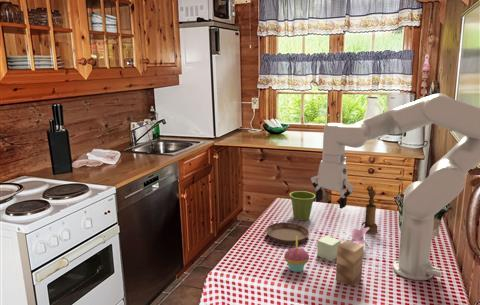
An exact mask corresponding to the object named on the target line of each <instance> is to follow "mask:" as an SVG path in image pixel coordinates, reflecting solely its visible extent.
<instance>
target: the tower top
mask: <svg viewBox="0 0 480 305" xmlns="http://www.w3.org/2000/svg"><path fill="white" fill-rule="evenodd" d="M364 247H365V246H364V244H363V245H360V244H358V243H354V242H351V240H347V239H346V240H345V241H343V242H342V243H340V245H338V247H337V257H336V264H337V263H338V264H341V265H343V266H346V267H349V268H351V269H354V268H356V267H357V266H359V265H360V264H361V263H362V264H363V263H364V262H363V260H364V249H365V248H364Z"/></svg>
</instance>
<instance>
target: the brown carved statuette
mask: <svg viewBox="0 0 480 305" xmlns="http://www.w3.org/2000/svg"><path fill="white" fill-rule="evenodd" d="M376 194H377V192H376V191H375V190H374V189H369V190H368V192H367V195H368V197H369V199H368V204H366V205H365V206H366V207H365V216H364V217H365V218H364V221H363V222H362V223H361V227H362V226H363V224H364V223H365V226H364V228H367V227H369V229H368V231H367V232H366V233H368V234H374V233H375V234H376V233H377V232H378V229H379V228H378V227H379V226H378V224H377V223H375V222H376V212H377V211H376V210H377V205H375V204H374V203H375V200H374V198H375V197H376Z"/></svg>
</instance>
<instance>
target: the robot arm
mask: <svg viewBox="0 0 480 305" xmlns="http://www.w3.org/2000/svg"><path fill="white" fill-rule="evenodd" d="M433 124H434V125H436V126H438V127H441V128H442V129H443V128H444V129H446V130H449V131H451V132H454V133H457V134H460V135H462V137H461V138H460V140H459V141H458V142H457V143H456V144H455V145H454V146H453V147H452V148H451V149H450V150H449V151H448V152H446V153H445V154H444V155H443V156H442V157H440V159H439V160H438V161H436V162H435V163H434V164H433V165H432V166H431V168H430V169H429V173H428V174H429V175H428V176H427V177H426V178H425V179H424V180H417V181H413V182H411V183H409V184H408V185H407V187H406V188H405V190H404V194H403V203H402V204H403V205H402V207H403V208H402V216H401V229H400V239H399V241H400V242H399V252H398V260H396V261H394V262H393V265H392V269H393V271H394V272H395V273H396V274H397V275H399V276H400V277H403V278H406V279H408V280H412V281H413V280H414V281H427V280H430V279H431V278H433V276H434V277H437V278H441V277H442V274H443V272H442V271H441V268H440V267H436V266H434V265H433V260H430V258H431V257H430V256H431V249H432V248H431V246H432V240H433V239H432V238H433V232H434V223H435V222H434V221H435V216H436V215H437V213H439V212H440V211H441V210H442V209H444V208H445V207H446V206H447V205H448V204H450V203H451V202H452V201H453V200H454V199H456V198H457V197H458V196H459V195H460V194H461V192H462V191H463V189H464V188H465V186H466V176H467V175H468V174H469V173H468V171H469V170H470V169H473V170H474V169H475V168H476V167H477V166H478V165H479V164H480V106H478V105H477V106H475V105H471V104H468V103H465V102H463V101H460V100H456V99H455V98H452V97H450V96H448V95H447V94H445V93H438V92H437V93H434V94H431V95H428V96H425V97H422V98H420V99H416V100H415V101H411V102H409V103H405V104H404V105H400V106H397V107H394V108H392V109H389V110H387V111H385V112H382V113H380V114H376V115H373V116H371V117H367V118H365V119H363V120H360V121H356V122H355V123H353V124H350V125H345V124H343V123H339V122H328V123H325V125H324V126H323V135H322V136H323V137H322V138H323V139H322V157H321V158H322V160H320V163H319V166H318V172H317V175H315V176H312V177H310V180H311V183H312V184H311V185H312V186H313V188H314V191H315V192H316V193H315V196H316V197H315V201H316V202H317V203H318V202H320V201H323V198H324V194H323V193H324V191H323V189H325V190H330V191H333V192H336V193H337V192H338V193H339V195H340V198H339V204H338V205H339V206H338V208H339V209H343V208H345V207H346V206H347V202H348V200H347V198H348V197H349V196H350V195H351V194H353V192H354V190H355V186H354V185H353V184H352V183H350V182H349V181H348V180H349V178H348V175H349V174H348V166H347V163H346V162H348V157H346V155H345V150H346V149H345V148H346V147H348V148H361V147H363V146H365V145H366V144H367V142H368V141H370V140H373V139H376V138H379V137H382V136H386V135H390V134H396V135H397V134H405V133H408V132H411V131H414V130H417V129H419V128H422V127H426V126H429V125H433ZM347 189H348V190H347Z"/></svg>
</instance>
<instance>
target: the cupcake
mask: <svg viewBox="0 0 480 305" xmlns="http://www.w3.org/2000/svg"><path fill="white" fill-rule="evenodd" d="M298 244H299V243H298V237H297V236H296V244H295V247H293V248H289V249H288V250H286V251H285V252H284V256H283V257H284V261H285V262H286V263H287V266H288V269H289V271H291V272H295V273H300V272H302V271H303V270H304V267H305V265H306V264H307V263H308V262H309V260H310V254H309V253H308V252H307V251H306V250H304V249H302V248H299V247H298V246H299V245H298Z"/></svg>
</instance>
